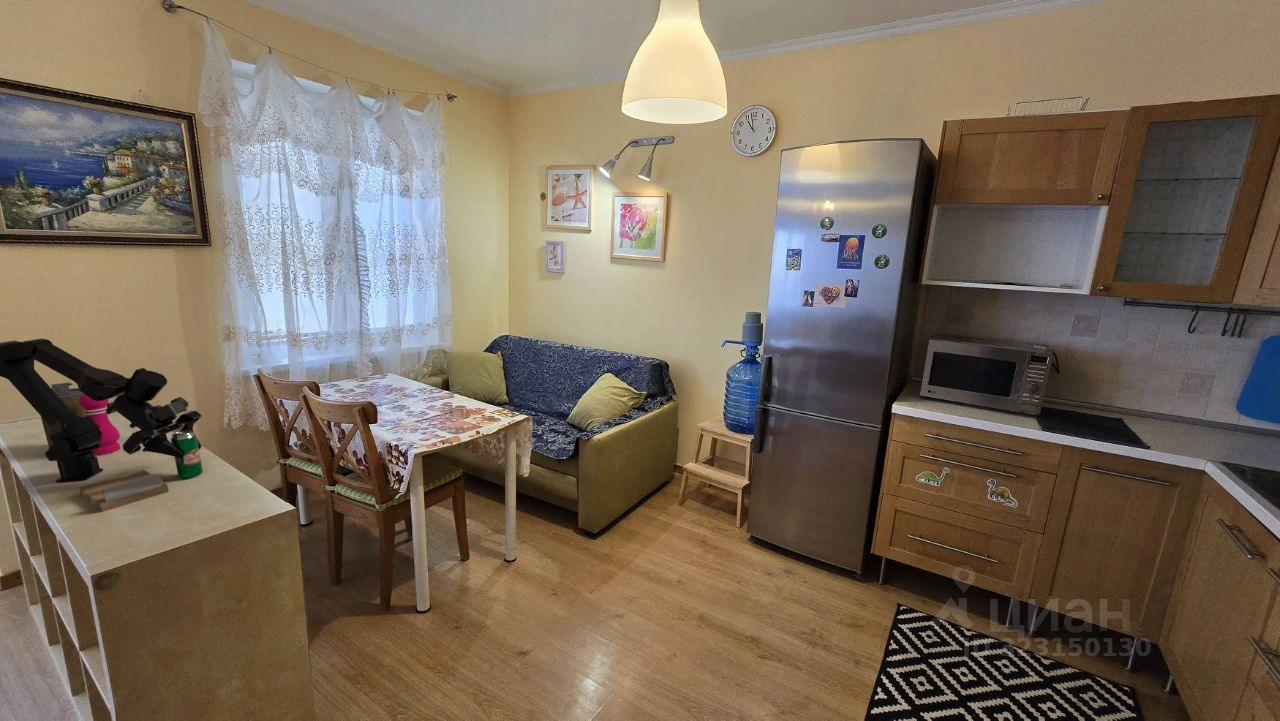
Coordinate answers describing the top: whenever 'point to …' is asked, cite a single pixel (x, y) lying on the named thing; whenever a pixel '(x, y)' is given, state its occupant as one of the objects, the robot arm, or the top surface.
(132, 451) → the robot arm
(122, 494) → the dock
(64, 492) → the top surface
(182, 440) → the soda can
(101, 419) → the pepper mill
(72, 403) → the canister
